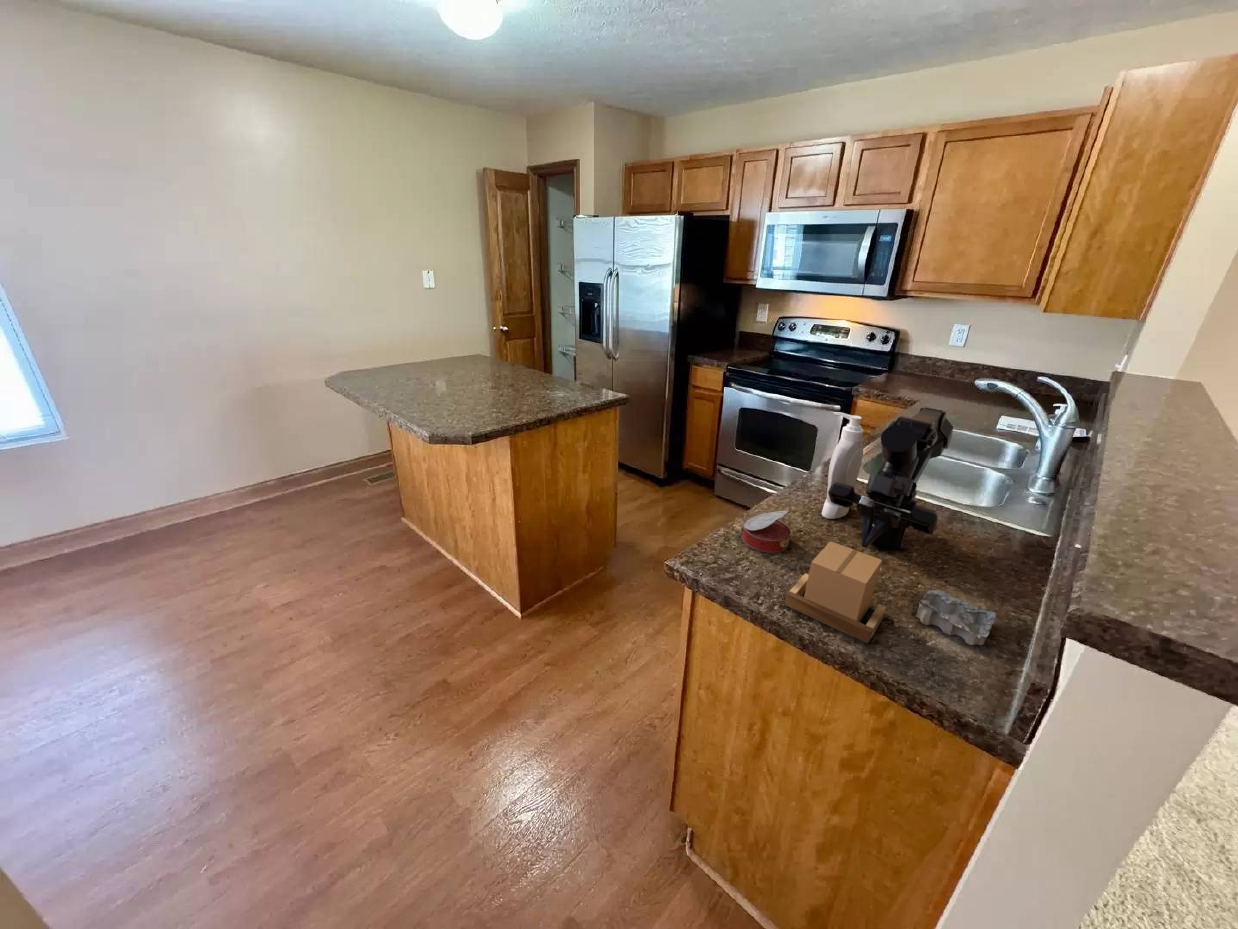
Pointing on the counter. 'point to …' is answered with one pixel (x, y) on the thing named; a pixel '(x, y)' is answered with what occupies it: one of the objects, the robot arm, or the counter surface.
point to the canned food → (767, 532)
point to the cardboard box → (843, 580)
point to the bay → (832, 613)
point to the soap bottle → (845, 463)
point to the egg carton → (955, 616)
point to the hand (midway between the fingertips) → (863, 546)
